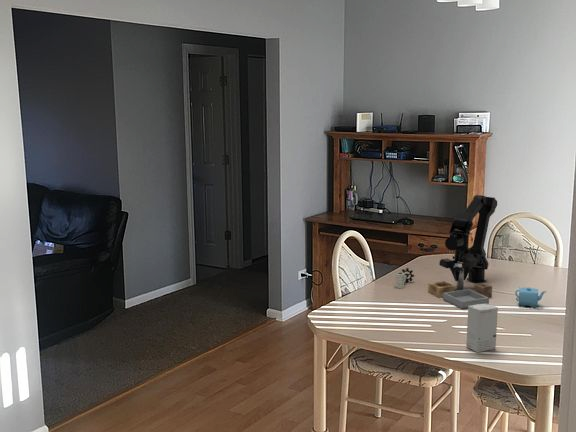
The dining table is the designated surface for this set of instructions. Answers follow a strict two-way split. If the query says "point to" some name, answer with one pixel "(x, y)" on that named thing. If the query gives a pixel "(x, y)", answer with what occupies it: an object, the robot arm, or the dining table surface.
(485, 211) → the robot arm
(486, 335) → the skincare box
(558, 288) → the dining table surface
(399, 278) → the valve
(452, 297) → the tray
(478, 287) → the walnut block
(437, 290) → the oak block
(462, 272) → the gauge pin
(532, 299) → the teapot
